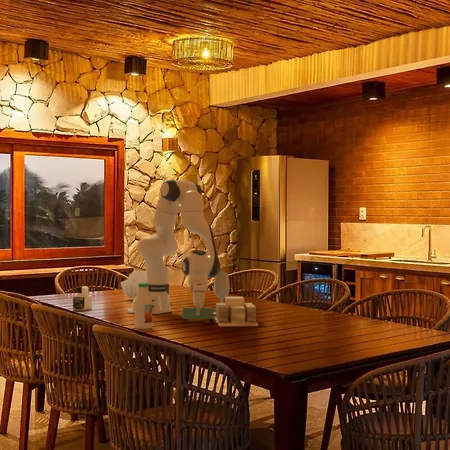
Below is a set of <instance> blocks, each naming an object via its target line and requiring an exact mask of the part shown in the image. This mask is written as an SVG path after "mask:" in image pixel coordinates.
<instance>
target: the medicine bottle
mask: <svg viewBox="0 0 450 450" xmlns="http://www.w3.org/2000/svg"><path fill="white" fill-rule="evenodd" d="M91 308H93V295H91V294H89V287H88V286H86V285H78V286H77V287H76V295H73V296H72V310H73V311H75V310H76V311H87V310H86V309H88V310H91Z"/></svg>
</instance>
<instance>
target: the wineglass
mask: <svg viewBox="0 0 450 450" xmlns="http://www.w3.org/2000/svg"><path fill="white" fill-rule="evenodd" d="M230 285H231V284H230V277H229V273H228V272H221V271H220V272H219V273H218V274H217V275H216V276H215V277H214V282H213V290H214V291H213V292H214V294H215V296H216V297H217V298H218V299H219V300H220V302H219V303H224V299H225V297H229V293H230V290H231V287H230ZM213 316H216V311H213Z"/></svg>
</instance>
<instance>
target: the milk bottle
mask: <svg viewBox="0 0 450 450" xmlns="http://www.w3.org/2000/svg"><path fill="white" fill-rule="evenodd" d="M138 286H139V292H138V295H137V297H136V300H135V313H134V329H137V330H150V329H152V328H153V314H152V299H151V296H150V294H149V291H148V288H149V283H139V284H138Z"/></svg>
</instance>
